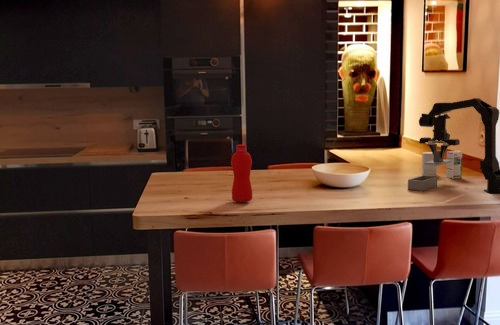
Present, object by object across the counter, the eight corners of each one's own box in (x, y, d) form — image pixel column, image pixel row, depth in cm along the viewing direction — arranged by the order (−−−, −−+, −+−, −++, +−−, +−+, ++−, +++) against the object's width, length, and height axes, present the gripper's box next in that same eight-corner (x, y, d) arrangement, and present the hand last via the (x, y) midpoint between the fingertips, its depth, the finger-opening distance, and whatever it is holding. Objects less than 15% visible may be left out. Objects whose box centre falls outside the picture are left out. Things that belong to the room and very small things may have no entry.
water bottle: (251, 196, 239) (251, 142, 235) (252, 201, 228) (252, 145, 224) (231, 197, 239) (230, 143, 235) (231, 202, 228) (230, 146, 224)
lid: (438, 165, 255) (439, 152, 254) (424, 164, 260) (424, 151, 259) (451, 162, 266) (452, 149, 266) (437, 160, 271) (438, 148, 271)
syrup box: (452, 178, 277) (453, 152, 275) (445, 177, 282) (446, 150, 280) (461, 178, 278) (462, 151, 276) (454, 176, 284) (455, 150, 282)
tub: (422, 191, 245) (422, 181, 244) (407, 189, 250) (408, 179, 249) (437, 186, 256) (437, 176, 255) (422, 185, 261) (423, 175, 260)
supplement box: (436, 176, 286) (437, 153, 284) (422, 175, 287) (423, 153, 286) (434, 174, 293) (435, 151, 291) (421, 173, 295) (422, 151, 293)
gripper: (464, 127, 260) (463, 158, 262) (428, 125, 273) (427, 155, 275) (455, 128, 252) (454, 160, 254) (419, 127, 265) (418, 157, 267)
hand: (438, 158), depth 263 cm, fingers closed on lid, 3 cm apart
